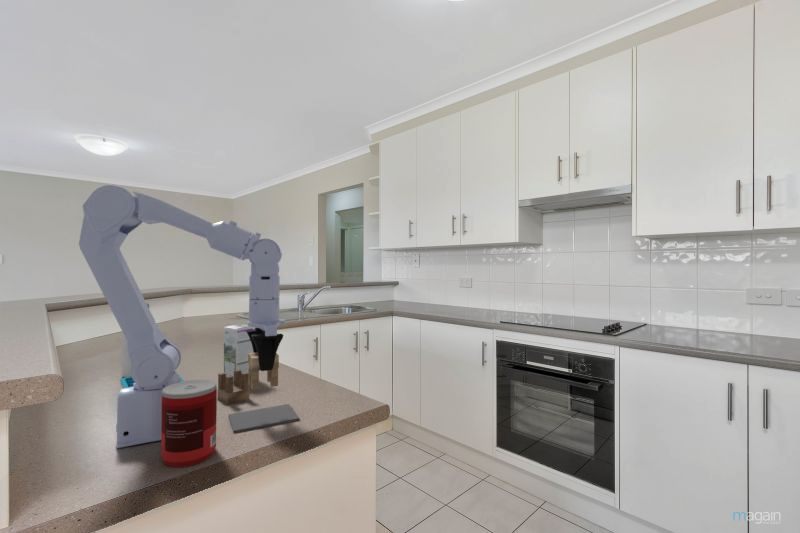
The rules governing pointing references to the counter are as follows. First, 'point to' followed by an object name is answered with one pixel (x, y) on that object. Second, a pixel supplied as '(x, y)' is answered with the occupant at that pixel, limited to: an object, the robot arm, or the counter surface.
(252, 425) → the mat
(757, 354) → the counter surface
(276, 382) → the oak stool
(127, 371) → the milk bottle
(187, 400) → the canned food
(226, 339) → the syrup box
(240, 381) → the upturned walnut stool
